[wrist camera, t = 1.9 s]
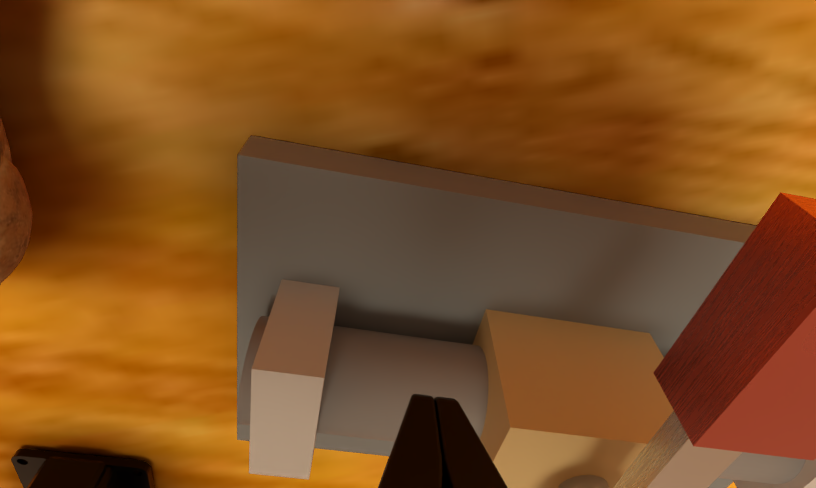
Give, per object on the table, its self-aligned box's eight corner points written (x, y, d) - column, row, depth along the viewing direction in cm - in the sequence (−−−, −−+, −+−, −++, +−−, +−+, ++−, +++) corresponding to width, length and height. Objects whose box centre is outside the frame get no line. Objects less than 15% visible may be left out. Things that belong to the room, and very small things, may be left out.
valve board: (706, 464, 26) (804, 641, 19) (246, 411, 23) (186, 597, 17) (905, 252, 18) (1173, 431, 12) (251, 135, 15) (144, 287, 9)
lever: (617, 549, 15) (640, 617, 14) (527, 541, 15) (541, 610, 14) (922, 219, 9) (1030, 283, 7) (770, 190, 8) (850, 250, 7)
